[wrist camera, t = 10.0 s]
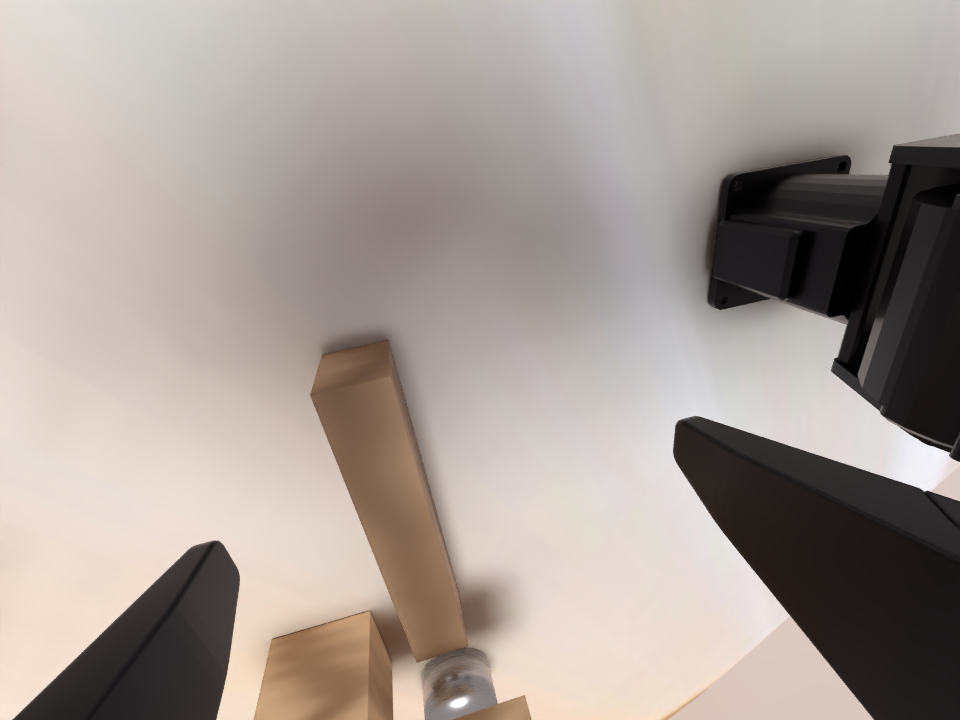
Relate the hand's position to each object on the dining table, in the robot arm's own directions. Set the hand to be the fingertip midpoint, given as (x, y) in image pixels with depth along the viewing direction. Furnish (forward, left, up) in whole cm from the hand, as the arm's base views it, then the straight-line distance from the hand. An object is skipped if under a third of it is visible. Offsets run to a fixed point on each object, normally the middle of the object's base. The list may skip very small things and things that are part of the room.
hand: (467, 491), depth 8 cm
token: (+3, +28, -12) cm, 31 cm away
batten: (+3, +10, -12) cm, 16 cm away
